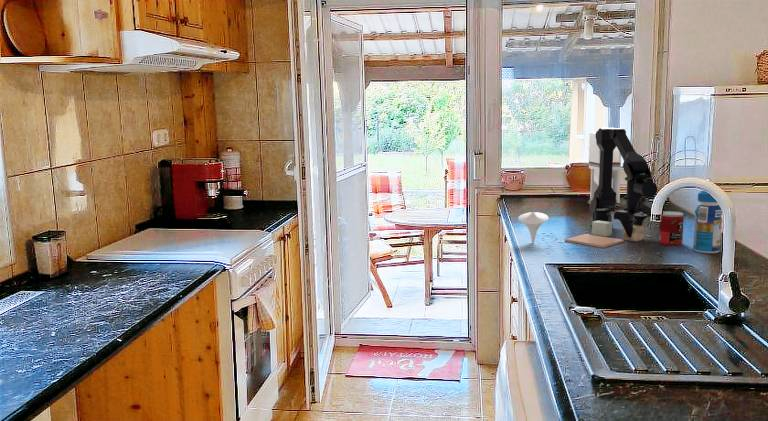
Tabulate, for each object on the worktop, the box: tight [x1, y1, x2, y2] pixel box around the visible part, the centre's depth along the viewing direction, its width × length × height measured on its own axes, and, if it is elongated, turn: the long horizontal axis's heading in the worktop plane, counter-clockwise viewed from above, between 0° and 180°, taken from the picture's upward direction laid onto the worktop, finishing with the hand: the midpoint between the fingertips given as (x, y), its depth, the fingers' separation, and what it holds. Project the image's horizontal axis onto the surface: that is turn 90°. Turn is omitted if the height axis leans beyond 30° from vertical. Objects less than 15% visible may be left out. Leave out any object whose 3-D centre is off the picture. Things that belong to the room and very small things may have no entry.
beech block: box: [623, 225, 645, 242], centre depth 243 cm, size 5×5×5 cm
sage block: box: [591, 220, 613, 237], centre depth 253 cm, size 6×4×5 cm, turn 40°
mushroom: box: [517, 210, 549, 244], centre depth 242 cm, size 10×11×12 cm
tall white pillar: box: [587, 131, 622, 208], centre depth 317 cm, size 11×11×35 cm
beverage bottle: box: [692, 190, 723, 254], centre depth 221 cm, size 8×8×20 cm
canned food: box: [658, 210, 685, 247], centre depth 234 cm, size 8×8×11 cm
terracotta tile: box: [564, 233, 625, 249], centre depth 242 cm, size 16×13×1 cm
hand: (633, 236), depth 244 cm, fingers closed on beech block, 5 cm apart
